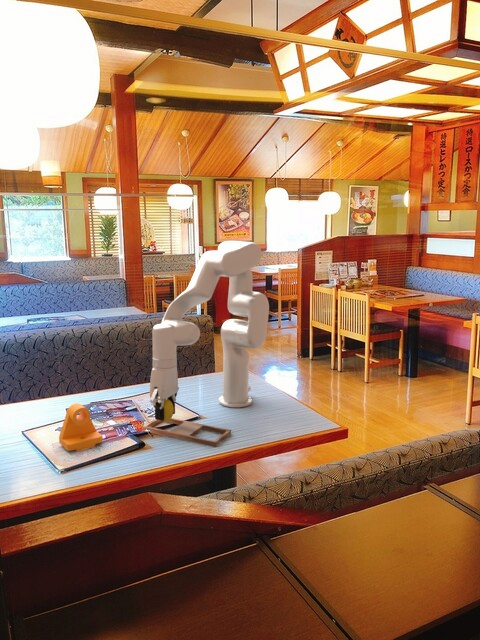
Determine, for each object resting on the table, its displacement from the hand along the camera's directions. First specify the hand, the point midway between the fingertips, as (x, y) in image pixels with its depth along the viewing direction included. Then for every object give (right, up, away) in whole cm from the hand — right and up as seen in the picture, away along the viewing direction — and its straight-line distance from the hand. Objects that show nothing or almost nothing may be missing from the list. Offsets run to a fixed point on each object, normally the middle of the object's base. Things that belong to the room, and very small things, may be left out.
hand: (165, 415), depth 166 cm
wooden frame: (+7, -5, -2) cm, 9 cm away
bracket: (-23, -7, -12) cm, 27 cm away
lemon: (0, -2, 0) cm, 2 cm away
